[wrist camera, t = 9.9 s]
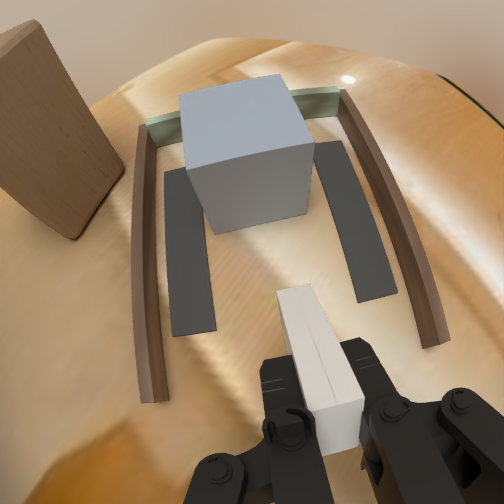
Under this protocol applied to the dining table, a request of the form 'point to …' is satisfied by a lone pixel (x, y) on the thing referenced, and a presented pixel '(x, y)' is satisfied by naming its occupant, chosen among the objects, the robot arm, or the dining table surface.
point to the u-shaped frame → (381, 183)
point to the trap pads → (195, 254)
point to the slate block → (247, 152)
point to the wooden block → (49, 135)
